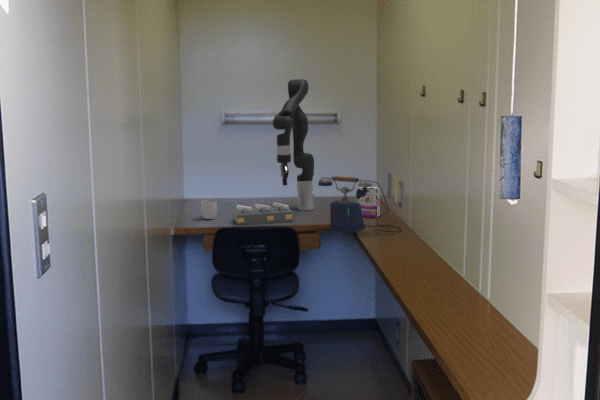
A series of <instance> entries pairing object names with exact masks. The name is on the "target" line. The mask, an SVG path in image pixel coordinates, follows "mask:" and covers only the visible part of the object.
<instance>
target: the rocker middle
mask: <svg viewBox="0 0 600 400" xmlns="http://www.w3.org/2000/svg"><path fill="white" fill-rule="evenodd" d="M262 207H265V209H267V210H270V209H271V208H272V206H270V205H267V204H260V203H254V208H255V209H262Z"/></svg>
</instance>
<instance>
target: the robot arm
mask: <svg viewBox="0 0 600 400" xmlns="http://www.w3.org/2000/svg"><path fill="white" fill-rule="evenodd" d="M287 83H288V84H287V93H288V99H287V100H286V102H285V103H284V104H283V106H282V108H281V110H280V111H279V112H278V113H277V114H276V115H275V116H274V118H273V120H272V126H273V128H274V129H275V130H282V131H283V130H284V132H283V133H280V134H277V136H276V162H277V164H280V166H279V171H280V177H281V179H282V181H281V182H282V186H283V187H284V186H285V187H286V186H288V178H289V171H290V170H289V165H288V163H291V162H292V159H293V164H294V166H295V167H296V168H297V169H301V171H302V172H301V173H300V174H297V176H296V193H297V195H296V196H297V197H296V198H297V210H299V211H312V210H315V194H314V190H313V189H314V184H313V182H314V180H313V179H314V175H315V168H314V167H315V158H314V155H313V154H312V153H307V152H305V151H304V145H305V144H304V143H305V140H306V138H307V135H308V132H309V122H308V121H309V120H308V117H307V115H306V113H305V112H304V111H303V109H302V107H301V106H300V104H301V102H302V101H303V100H304V99H305V98H306V96H307V94H308V93H309V87H310V86H309V82H308V81H307V80H306V79H303V78H301V79H300V78H299V79H290V80H288V81H287ZM291 133H292V141H293V149H291ZM291 151H293V154H292V152H291ZM292 155H293V158H292Z"/></svg>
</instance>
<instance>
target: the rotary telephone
mask: <svg viewBox="0 0 600 400" xmlns="http://www.w3.org/2000/svg"><path fill="white" fill-rule="evenodd" d="M333 182H334V184H335V188H336V190H337V191H339V192H341V193H342V194H343V197H342V199H338V200H334V201H333V202H332V201H331V202H330V204H329V206H330V208H329V209H330V213H329V214H330V215H329V216H330V218H329V219H330V221H329V222H330V223H329V224H330V226H329V230H328V231H330V232H335V233H346V234H356V233H358V232H360V231H363V230H364V229H366V227H373V228H374V229H375V230H377V231H380V232H385V233H386V232H387V233H388V232H390V233H393V232H395V233H396V232H401V231H402V229H401V228H400V227H398V226H396V225H391V224H380V223H379V222H378V218H379V217H382V216H385V215H386V214H387V213H388V212H389V206H388V203H387V200H386V197H385V194H384V190H383V188H382V187H381V185H380V184H379V182H376V181H375V180H371V179H370V180H368V179H359V178H358V177H352V176H351V177H350V176H332V177H327V176H325V177H324V176H321V177H320V179H319V181H318V183H317V184H318V186H320V187H330V186H333ZM337 182H344V183H346V182H347V183H353V187H352V188H351V189H350V188H348V187H347V186H343V187H341V188H338V185H337ZM358 182H359V183H358ZM372 182H373V183H375V184H377V185H378V187H380V190H381V192H382V194H383V195H382V196H383V199H384V202H385V204H386V207H387V208H386V209H387V210H386V212H385V213H384V214H380V216H378V217H377V218H375V221H376V223H377V224H375V225H366V224H365V221H364V217H363V216H362V211H361V206H360V202H358V201H354V200H353V201H352V200H349V198H348V197H347V196H348V195H347V194H348V193H350V192H353V191H354V189H355V185H356V184H357V183H358V185H357V186H358V188H359V187H364V188H363V190H360V189H358V188H357V189H356V194H355V196H356V197H355V198H356V199H357V200H358V199H360V198H361V197H364V196H366V193H367V187H374V184H373V183H372ZM378 226H379V227H381V228H385V229H389V228H390V229H393V228H397V229H399V230H383V229H378V228H376V227H378Z"/></svg>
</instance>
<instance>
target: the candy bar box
mask: <svg viewBox="0 0 600 400" xmlns="http://www.w3.org/2000/svg"><path fill="white" fill-rule="evenodd" d="M380 187H381V186H372V187H367V193H366V196H364V197H361V198H360V199H357V200H358V201H357V202H360V206H361V211H362V216H363V218H372V219H373V218H375V219H376V218H377V217H378V216H379V217H381V216H380V215H381V202H380V201H381V195H380V194H381V191H380V190H381V188H380ZM363 188H364V187H359V186H358V188H357V190H358V189H360V190H363ZM379 217H378V218H379ZM378 218H377V219H378Z"/></svg>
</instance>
